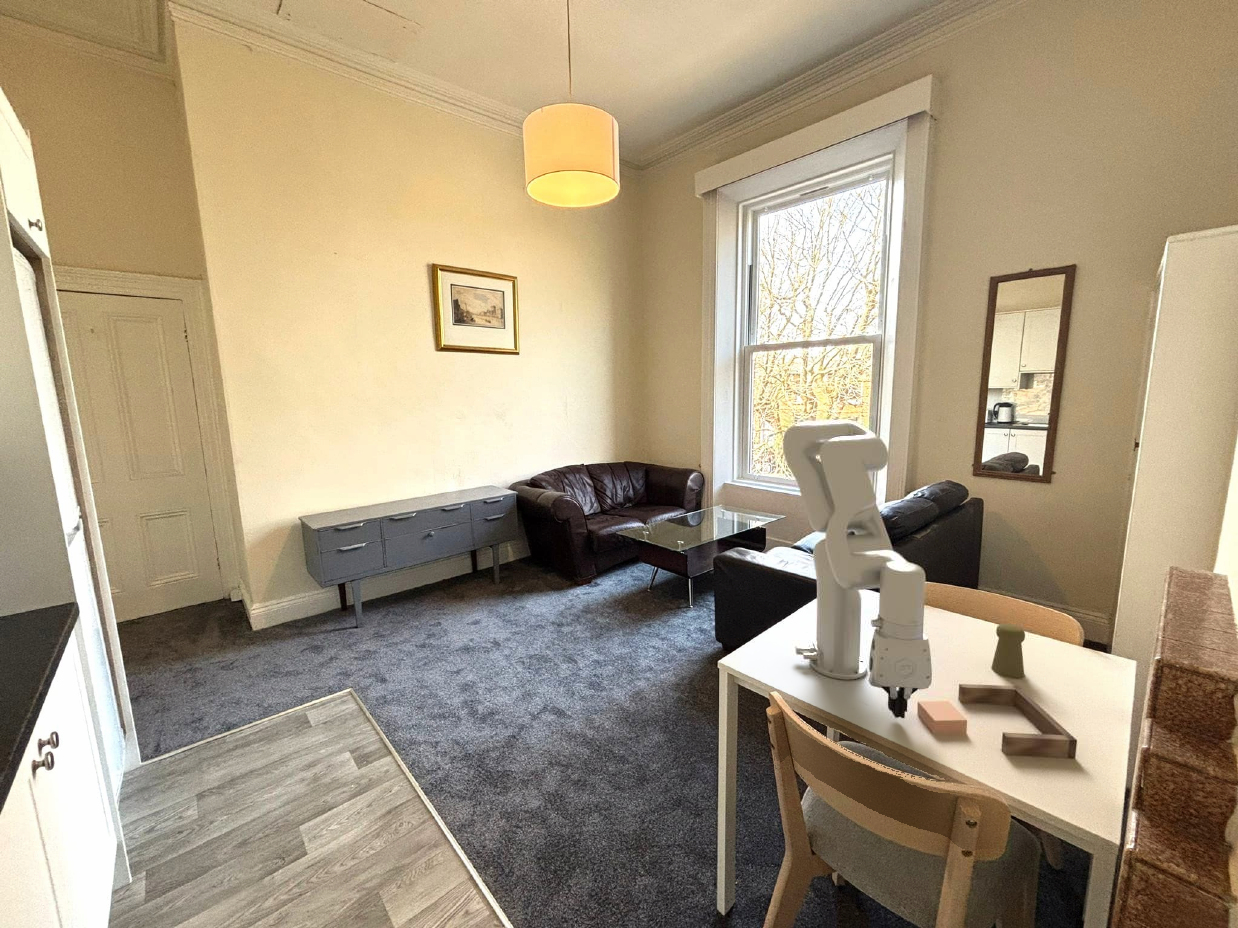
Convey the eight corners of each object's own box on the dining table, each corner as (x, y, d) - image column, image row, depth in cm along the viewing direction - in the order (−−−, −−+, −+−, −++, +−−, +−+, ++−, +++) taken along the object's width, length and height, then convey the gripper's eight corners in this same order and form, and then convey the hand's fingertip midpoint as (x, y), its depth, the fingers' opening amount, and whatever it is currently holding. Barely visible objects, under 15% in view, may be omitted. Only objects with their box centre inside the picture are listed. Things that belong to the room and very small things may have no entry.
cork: (1030, 679, 113) (1034, 633, 111) (999, 677, 114) (1002, 631, 113) (1015, 665, 119) (1018, 620, 117) (986, 663, 120) (989, 619, 118)
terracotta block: (933, 734, 97) (934, 720, 97) (917, 714, 103) (917, 701, 103) (966, 734, 97) (967, 719, 97) (947, 714, 103) (948, 700, 103)
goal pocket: (1005, 754, 91) (1006, 736, 91) (958, 699, 107) (959, 683, 107) (1075, 758, 90) (1077, 740, 89) (1016, 701, 106) (1018, 685, 105)
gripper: (865, 634, 96) (863, 723, 99) (952, 636, 94) (947, 728, 96) (853, 616, 103) (851, 700, 106) (933, 618, 101) (929, 704, 104)
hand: (897, 713), depth 101 cm, fingers closed
